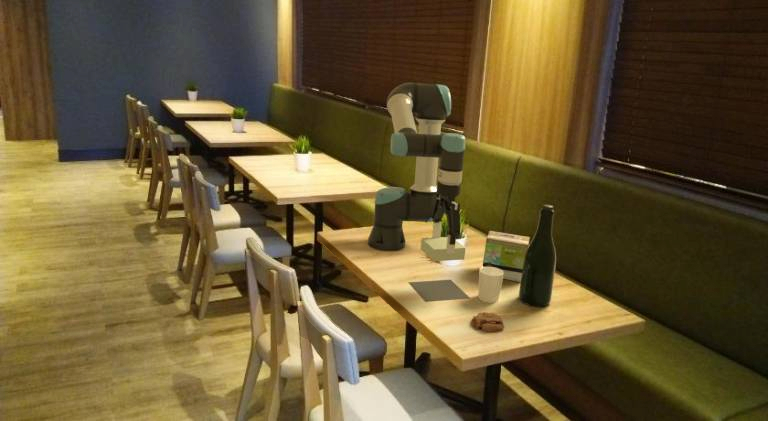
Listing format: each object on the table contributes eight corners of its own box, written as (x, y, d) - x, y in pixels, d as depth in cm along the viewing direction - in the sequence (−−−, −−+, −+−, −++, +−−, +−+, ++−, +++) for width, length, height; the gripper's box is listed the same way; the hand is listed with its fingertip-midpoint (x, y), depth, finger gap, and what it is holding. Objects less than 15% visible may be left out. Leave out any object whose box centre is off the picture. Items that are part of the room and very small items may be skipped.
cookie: (503, 320, 188) (504, 311, 187) (504, 335, 178) (505, 326, 177) (471, 315, 190) (472, 307, 189) (470, 331, 180) (471, 321, 179)
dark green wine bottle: (557, 305, 201) (572, 208, 192) (531, 309, 196) (546, 211, 187) (536, 292, 210) (549, 200, 201) (511, 296, 205) (524, 202, 196)
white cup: (499, 305, 198) (503, 277, 195) (475, 302, 199) (478, 273, 196) (500, 296, 205) (504, 268, 202) (476, 292, 207) (480, 265, 204)
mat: (408, 283, 211) (408, 282, 211) (450, 280, 216) (450, 279, 216) (425, 302, 196) (425, 301, 196) (470, 299, 201) (470, 298, 201)
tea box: (481, 276, 222) (485, 237, 217) (484, 267, 231) (488, 229, 227) (523, 283, 218) (528, 244, 214) (524, 273, 227) (530, 235, 223)
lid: (420, 249, 206) (421, 238, 205) (450, 247, 209) (451, 236, 208) (433, 261, 196) (434, 249, 195) (464, 259, 199) (465, 248, 198)
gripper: (424, 173, 205) (419, 235, 211) (453, 192, 184) (446, 260, 190) (445, 173, 207) (439, 235, 213) (476, 191, 186) (468, 259, 192)
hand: (442, 247), depth 202 cm, fingers closed on lid, 11 cm apart
